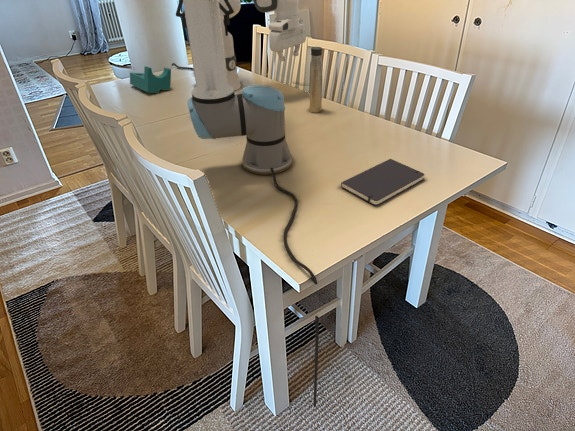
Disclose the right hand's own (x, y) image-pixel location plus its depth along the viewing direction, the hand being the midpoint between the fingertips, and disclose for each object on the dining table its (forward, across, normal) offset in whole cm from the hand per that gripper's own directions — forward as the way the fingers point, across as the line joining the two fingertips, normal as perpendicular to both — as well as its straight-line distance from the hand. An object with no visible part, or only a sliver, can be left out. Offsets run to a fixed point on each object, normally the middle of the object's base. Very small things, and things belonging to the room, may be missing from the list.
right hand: (208, 36), depth 147 cm
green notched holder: (+28, +29, -36) cm, 54 cm away
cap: (+5, -38, +10) cm, 40 cm away
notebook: (+28, -44, +69) cm, 86 cm away
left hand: (+13, -32, -11) cm, 36 cm away
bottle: (+28, -38, +10) cm, 49 cm away
